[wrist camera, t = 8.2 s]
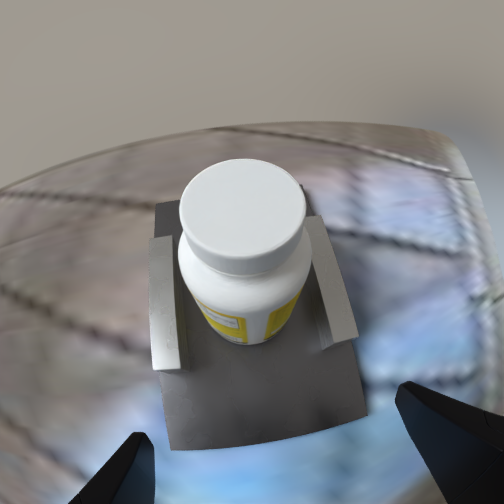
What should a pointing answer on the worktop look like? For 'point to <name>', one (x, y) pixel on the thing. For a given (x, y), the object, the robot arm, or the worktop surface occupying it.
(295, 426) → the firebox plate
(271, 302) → the supplement bottle
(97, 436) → the worktop surface
